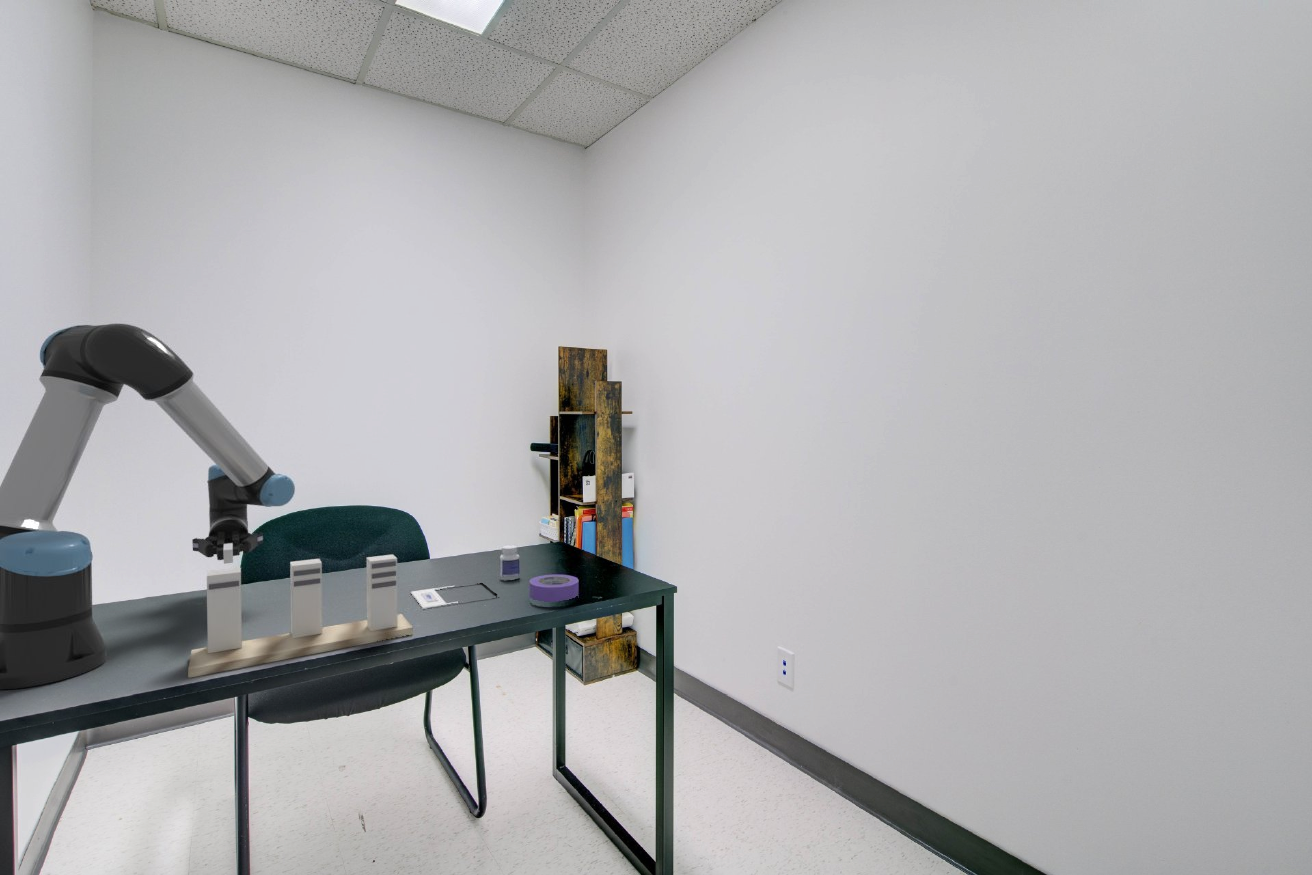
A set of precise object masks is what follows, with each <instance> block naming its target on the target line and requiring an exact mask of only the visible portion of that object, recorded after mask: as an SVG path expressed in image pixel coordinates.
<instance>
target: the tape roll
mask: <svg viewBox="0 0 1312 875" xmlns="http://www.w3.org/2000/svg"><path fill="white" fill-rule="evenodd" d="M579 582H580V581H579V579H578V577H576V576H573V575H568V574H544V575H539V576H536V577H532V578H531V579H530V580H529V597H530V598H532V599H533V600H538V601H544V602H555V601H556V602H558V601H563V600H569V599H572V598H575V597H576V596H578V597H579V586H580V585H579Z"/></svg>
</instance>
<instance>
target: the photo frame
mask: <svg viewBox="0 0 1312 875" xmlns="http://www.w3.org/2000/svg"><path fill="white" fill-rule="evenodd" d="M454 586H455V585H448V586H442V587H436V588H435V587H434V588H426V589H420V590H413V591H410V594H412V595H411V596H412V597H413V599H414V598H415V599H414V600H415V601H416V600H417V601H416V602H418V603H419V604H418V603H417V604H418V606H421V607H422V608H421V607H420V608H421V610H423V609H426V610H428V609H427V608H430V607H437V606H441V605H447V604H451V603H458V601H453V602H446V601H445V600H444V599H443V598H442V597H441V596H440V594H439V593H438V591H435V590H439V591H441V590H440V589H443V588H447V587H454Z"/></svg>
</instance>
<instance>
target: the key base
mask: <svg viewBox="0 0 1312 875" xmlns="http://www.w3.org/2000/svg"><path fill="white" fill-rule="evenodd" d="M397 623H398V627H392V628H387V629H381V630H376V631H370V630H369V628H368V626H367V619H364V620H359V621H353V622H346V623H340V624H335V625H329V626H324V627H323V626H322V634H316V635H310V636H305V637H299V638H292V634H291V632H288V633H284V634H283V633H282V634H277V635H271V636H264V637H259V638H254V639H248V640H242V648H237V649H231V650H225V651H220V652H214V653H208V646H206V647H201V648H194V649H191V651H190V657H189V664H188V668H187V670H188V672H187V674H188V675H187V676H188V677H187V678H188V679H189V678H195V677H200V676H205V675H210V674H215V673H220V672H221V673H222V672H227V671H231V670H236V669H237V670H238V669H241V668H246V667H252V666H257V665H264V664H267V663H273V662H279V661H284V660H289V659H293V658H299V657H305V656H309V655H310V656H311V655H314V654H320V653H325V652H329V651H336V650H340V649H346V648H351V647H357V646H363V645H366V644H372V643H377V641H378V642H382V640H383V641H387V640H386V639H388V640H392V639H391V638H393V639H396V638H395V637H398V638H402V636H404V637H407V636H406V635H409V636H413V634H414V627H413V626H412V624H410V622H409V621H408V620H407V619H406V618H405V616H404V615H403V614H402V613H400V614H399V613H397Z"/></svg>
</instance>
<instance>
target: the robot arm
mask: <svg viewBox="0 0 1312 875" xmlns="http://www.w3.org/2000/svg"><path fill="white" fill-rule="evenodd" d="M39 360H40V363H42V364H41V365H42V366H43V369H42V372H41V374H40V376H39V380H38V381H39V382H40V383H41V385H42V386H43V387H44V389H45V390H44V391H45V392H44V394H43V396H42V398H41V399H40V401H39V404H38V406H37V409H36V410H35V412H34V415H33V416H32V419H31V421H30V423H29V425H28V427H27V429H26V432H25V433H24V436H23V438H22V440H21V442H20V444H19V446H18V449H17V450H16V452H15V454H14V456H13V459H12V461H11V463H10V465H9V467H8V469H7V471H6V473H5V475H4V478H3V479H2V482H1V484H0V690H13V689H23V688H29V687H35V686H36V687H37V686H42V685H46V684H51V683H54V682H59V681H62V680H66V679H69V678H72V677H75V676H79V675H82V674H85V673H87V672H90V671H92V670H94V669H96V668H99V667H100V666H101V665H102V664H104V663H105V662H106V661H107V659H108V657H107V656H108V655H107V654H108V653H107V652H108V651H107V648H108V647H107V645H106V644H107V643H106V642H105V641H104V638H103V637H102V635H101V632H100V630H99V629H98V627H97V625H96V622H95V621H94V617H93V577H92V574H93V571H92V567H93V565H92V564H93V563H92V562H93V552H92V548H91V547H92V546H91V541H90V540H89V538H88V537H87V536H85V535H84V534H81V533H78V532H74V531H67V530H61V531H60V530H58V529H57V528H56V526H54V522H53V521H54V519H55V517H56V514H57V513H58V510H59V508H60V505H61V504H62V501H63V499H64V497H65V494H66V491H67V490H68V487H69V485H70V483H71V481H72V478H73V476H74V473H75V471H76V469H77V467H78V465H79V462H80V460H81V459H82V456H83V454H84V452H85V450H86V446H87V444H88V443H89V440H90V437H91V436H92V433H93V431H94V428H95V427H96V424H97V422H98V420H99V417H100V415H101V412H102V410H103V408H104V406H106V405H107V404H108V405H109V404H112V403H113V402H116V401H117V400H118V398H119V396H120V395H121V392H122V389H123V387H124V385H125V386H127V387H129V388H131V389H133V390H134V391H135V392H136V393H137V394H139V396H141V397H142V398H143V399H144V400H145V401H150V402H155V403H156V404H157V405H158V406H159V407H160V408H161V409H162V410H163V411H164V412H165V413H166V414H167V415H168V416H169V418H171V419H172V421H174V423H175V424H176V425H177V426H178V427H179V428H180V429H181V430H182V431H183V432H184V433H185V434H186V435H187V436H188V437H189V438H190V439H191V440H192V441H193V442H194V443H195V444H196V445H197V446H198V448H200V450H202V451H203V453H204V454H206V455H207V457H209V458H210V460H212V461H213V462H214V464H213V465H210V467H209V468H208V474H207V481H206V482H207V490H208V501H209V502H208V504H209V508H208V510H209V511H208V512H209V513H208V516H209V520H208V521H209V532H208V536H207V537H205V538H197V537H195V538H193V539H192V542H191V543H192V551H194V552H199V553H200V554H201V555H203V556H205V557H206V558H213V557H214V555H216V558H217V561H223V564H232V563H234V557H235V556H240V555H241V552H242V553H243V554H249V553H250V552H252V551H253V550H254V549H256V548H257V546H260V545H262V544H264V536H263V535H264V532H261V531H259V532H256V533H250V532H249V522H248V505H249V506H258V507H260V506H261V507H266V508H269V507H270V508H271V507H272V508H273V507H282V506H285V505H287V504H289V502H291V500H292V499H293V498H294V495H295V491H296V487H295V482H294V481H293V480H292V479H291V478H290V477H289V476H288V475H285V474H280V473H275V472H274V470H273V469H271V467H270V466H269V465H268V464H267V463H266V462H265V461H264V460H263V458H262V457H261V456H260V455H259V454H258V453H257V452H256V450H255V449H254V448H253V447H252V446H251V445H250V444H249V443H248V441H247V440H246V439H245V437H243V435H241V434H240V432H239V431H238V430H237V428H235V426H233V424H232V423H231V422H230V421H229V419H228V418H226V416H225V415H224V414H223V413H222V412H221V411H220V410H219V409H218V407H216V405H215V404H214V403H213V402H212V401H211V399H210V398H209V397H208V396H207V395H206V394H205V393H204V391H203V390H201V388H200V387H199V386H198V385H197V384H196V382H195V381H194V376H195V374H194V372H193V371H192V370H191V369H190V368H189V366H188V365H187V364H186V363H185V362H184V361H183V360H182V359H181V358H180V356H179V355H178V354H176V353H175V351H174V350H172V349H171V348H170V347H169V345H167V344H165V342H164V341H162V340H160V338H158V337H156V336H155V335H154V334H152V333H151V332H149V331H147V330H145V329H143V328H141V327H138V326H136V325H132V324H127V323H109V324H99V325H92V324H79V325H78V324H77V325H73V326H70V327H67V328H66V327H65V328H61V329H60V330H59V329H58V330H57V331H55V332H53V333H52V334H51V335H48V336H47V338H46V339H45V340H44V342H43V343H42V344H41V347H40V351H39Z"/></svg>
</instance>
